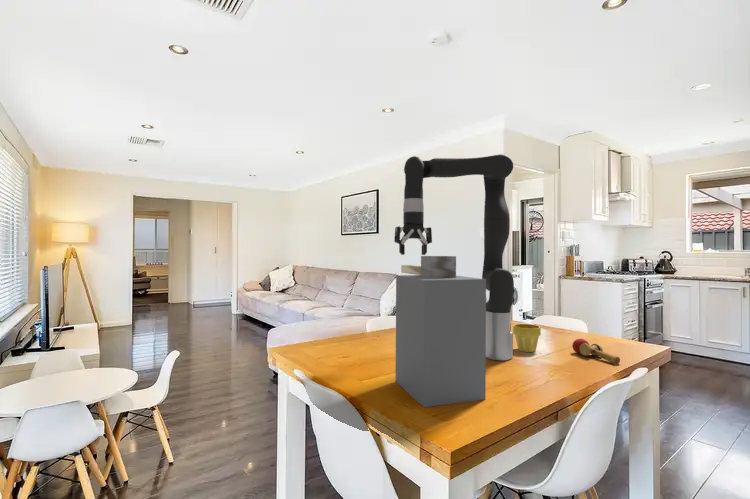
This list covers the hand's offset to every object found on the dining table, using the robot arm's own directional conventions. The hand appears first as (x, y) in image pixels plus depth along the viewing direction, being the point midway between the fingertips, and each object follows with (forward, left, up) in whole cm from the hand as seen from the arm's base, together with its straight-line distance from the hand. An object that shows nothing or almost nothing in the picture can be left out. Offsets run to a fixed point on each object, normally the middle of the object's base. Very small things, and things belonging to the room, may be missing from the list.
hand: (413, 254), depth 144 cm
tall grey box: (+7, +34, -38) cm, 52 cm away
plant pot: (-48, +4, -38) cm, 62 cm away
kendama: (-65, +21, -39) cm, 78 cm away
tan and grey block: (+7, +23, -6) cm, 25 cm away
